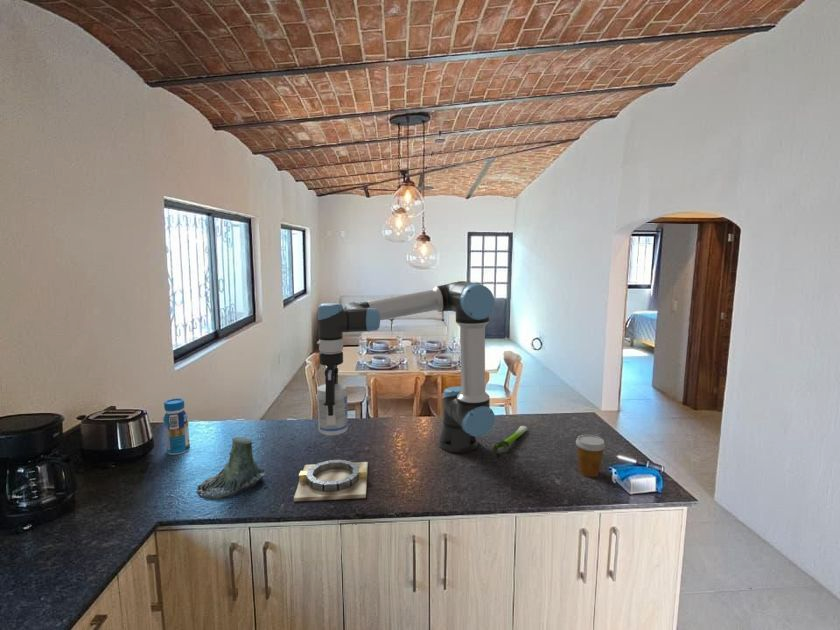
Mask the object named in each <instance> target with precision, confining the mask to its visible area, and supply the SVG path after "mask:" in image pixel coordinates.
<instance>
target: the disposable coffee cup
mask: <svg viewBox="0 0 840 630" xmlns="http://www.w3.org/2000/svg"><path fill="white" fill-rule="evenodd" d="M575 444H576V447H577V458H578V459H577V461H578V471H579V474H580V475H582V476H584V477H588V478H596V477H599V475H600V474H599V473H600V469H601V463H602V459H603V454H604V449H605V448H606V443H605V441H604V439H603V438H601V436H597V435H592V434H582V435H578V436H577V438H576V440H575Z"/></svg>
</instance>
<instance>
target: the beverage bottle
mask: <svg viewBox="0 0 840 630" xmlns="http://www.w3.org/2000/svg"><path fill="white" fill-rule="evenodd" d="M163 405H164V411H165V413H164V416H163V420H162V421H163V422H164V424H163V430H164V438H165V440H164V441H165V447H166V448H165V452H166V453H167V454H168V455H172V456H176V455H177V456H178V455H181V454H184V453H187V452H188V451H189V450H190V448H191V444H190V433H189V421H188V414H187V412H186V411H185V400H184V399H183V398H171V399H167V400H165V401H164V402H163Z"/></svg>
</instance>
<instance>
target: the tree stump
mask: <svg viewBox="0 0 840 630" xmlns="http://www.w3.org/2000/svg"><path fill="white" fill-rule="evenodd" d="M231 439H232V444H231V450H230V452H229V454H228V455H230V456H229V460H228V462H227V463H226V464H225V466H224V467H223V468H222V470H221V471H219V472H218V473H217V474H216V475H213V476H210V477H208V478H206V480H204V481H203V482H201V483H200V484H199V485H196V486H197V493H198V495H199V496H200V497H202V498H204V499H211V500H221V499H228V498H231V497H233V496H235V495H237V494H241V493H243V492H245V491H246V490H248V489H250V488H252V487H254V486H255V485H256V484H257V483H258V482H259V481H260V480H261V479H263V477H264V476H265V474H266V473H265V469H263V468H262V467H258V464H257V462H256V461H255V460H254V455H253V445H252V444H253V442H252V440H251V439H249V438H247V437H243V436H234V437H232V438H231Z"/></svg>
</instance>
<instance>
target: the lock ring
mask: <svg viewBox="0 0 840 630" xmlns="http://www.w3.org/2000/svg"><path fill="white" fill-rule="evenodd" d="M355 463H356V462H353V461H349V460H345V459H330V460H326V461H322V462H317V463H315V464H316V465H314V466H313V467H311V468H310V469H309V470H308V471H303V470H300V472H299V474H298V477H299V478H298V480H299V481H298V483H299V482H307V484H308V485H309V487H310V488H311V489H313V490H317V491H321V492H323V491H324V492H337V490H338V491H341V490H344V489H347V488H350V486H351V487H352V486H353V485H354V484H356V483H357V482H358V480H361V479H366V475H367V476H368V472H367V473H366V468H359V467H358V466H357V465H356V464H355ZM332 469H342V470H346V471H349V472H350V473H352V474H351V475H350V476H348V477H347V478H345V479H341V480H338V481H322V480H318V479H316V478H315V476H316V475H318V474H319V473H321V472H324V471H327V470H332Z"/></svg>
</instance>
